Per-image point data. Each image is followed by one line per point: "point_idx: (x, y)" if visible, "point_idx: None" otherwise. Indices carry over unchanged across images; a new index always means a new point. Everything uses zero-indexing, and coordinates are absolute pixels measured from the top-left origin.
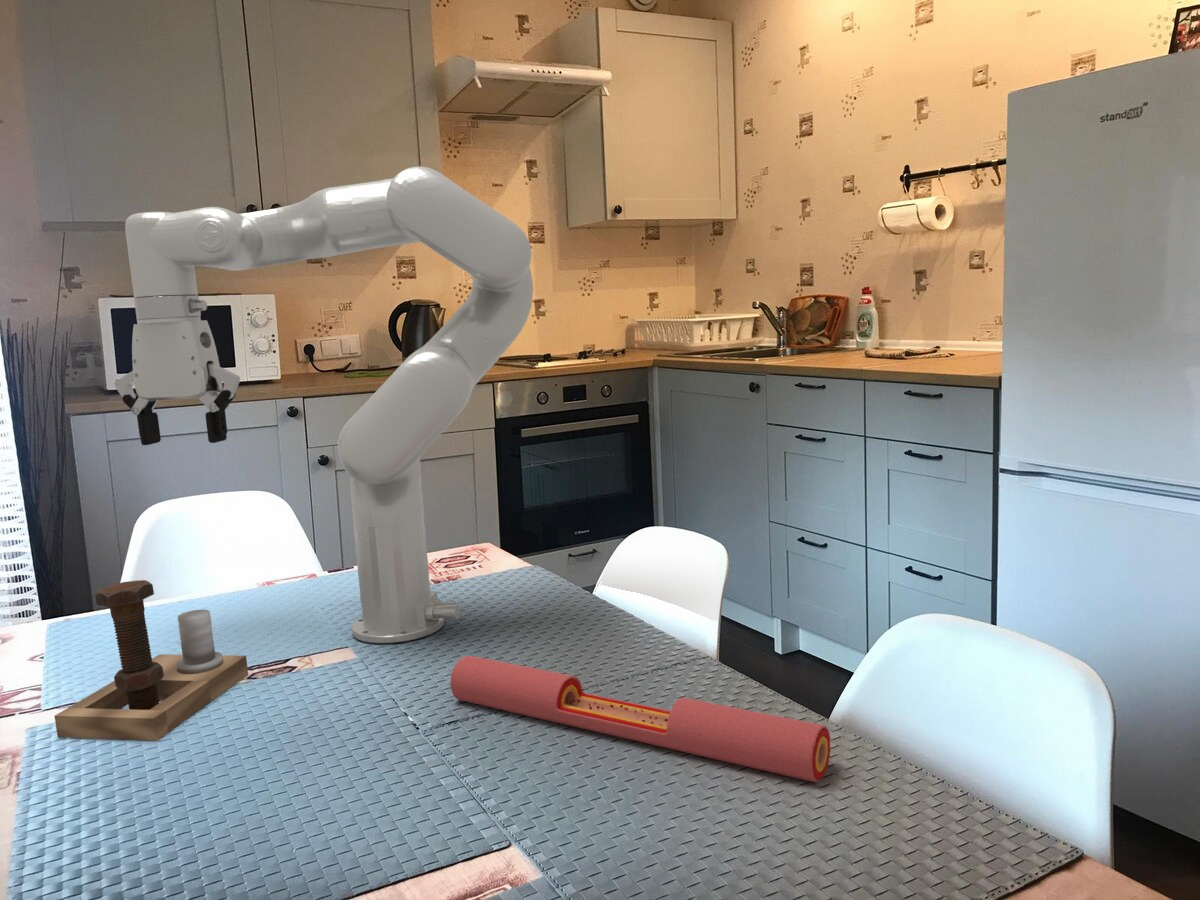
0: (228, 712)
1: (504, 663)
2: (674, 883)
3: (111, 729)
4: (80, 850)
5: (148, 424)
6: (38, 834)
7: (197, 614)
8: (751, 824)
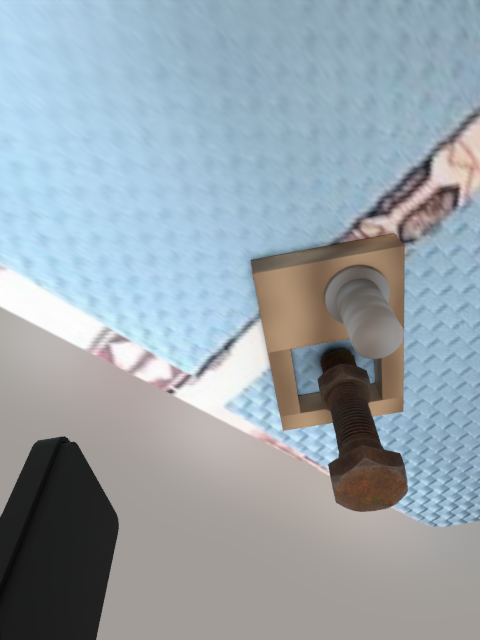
0: (435, 330)
1: None
2: None
3: None
4: (449, 501)
5: (76, 619)
6: (403, 498)
7: (385, 337)
8: None
